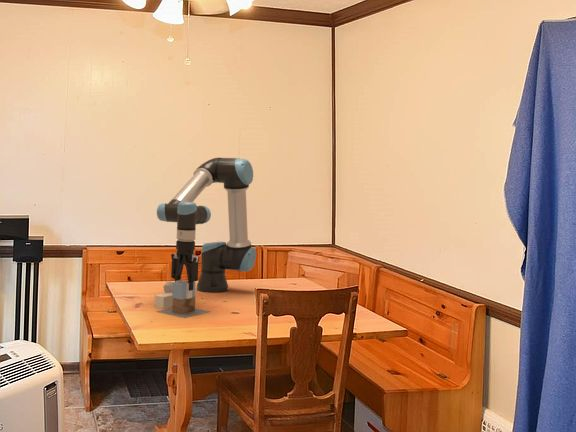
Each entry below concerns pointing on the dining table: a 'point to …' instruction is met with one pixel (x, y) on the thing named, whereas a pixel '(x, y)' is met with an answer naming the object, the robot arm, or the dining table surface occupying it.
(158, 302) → the brick
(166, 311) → the build board
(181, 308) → the brick base
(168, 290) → the toy
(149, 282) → the dining table surface
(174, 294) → the brick top
